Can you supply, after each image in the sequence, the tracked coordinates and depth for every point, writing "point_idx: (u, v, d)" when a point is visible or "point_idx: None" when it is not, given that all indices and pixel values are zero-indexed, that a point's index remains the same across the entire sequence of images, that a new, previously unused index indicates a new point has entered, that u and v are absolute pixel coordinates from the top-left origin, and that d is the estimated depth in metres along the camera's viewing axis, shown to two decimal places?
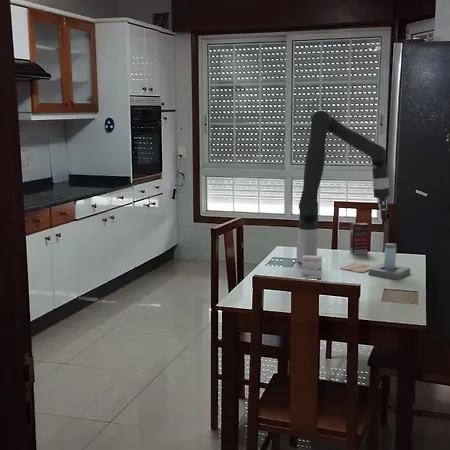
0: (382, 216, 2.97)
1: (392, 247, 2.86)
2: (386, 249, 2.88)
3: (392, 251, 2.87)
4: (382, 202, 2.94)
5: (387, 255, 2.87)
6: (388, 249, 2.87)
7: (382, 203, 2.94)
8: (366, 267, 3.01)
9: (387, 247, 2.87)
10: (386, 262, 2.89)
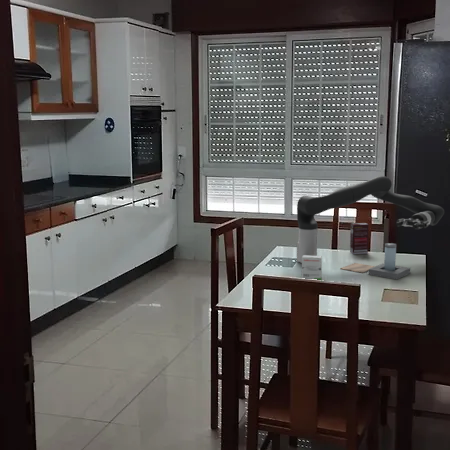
0: (417, 224, 2.97)
1: (392, 247, 2.86)
2: (386, 249, 2.88)
3: (392, 251, 2.87)
4: (428, 223, 3.01)
5: (387, 255, 2.87)
6: (388, 249, 2.87)
7: (428, 223, 3.00)
8: (366, 267, 3.01)
9: (387, 247, 2.87)
10: (386, 262, 2.89)
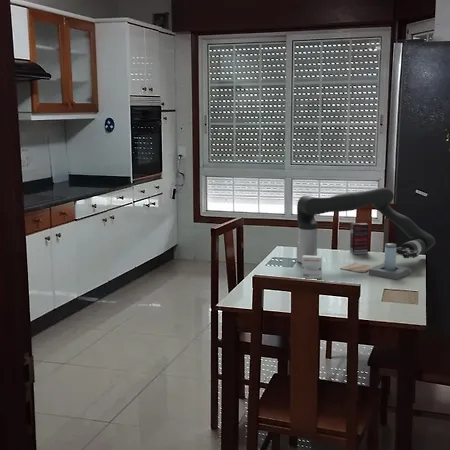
0: (407, 253, 2.93)
1: (392, 247, 2.86)
2: (386, 249, 2.88)
3: (392, 251, 2.87)
4: (418, 252, 2.97)
5: (387, 255, 2.87)
6: (388, 249, 2.87)
7: (418, 252, 2.96)
8: (366, 267, 3.01)
9: (387, 247, 2.87)
10: (386, 262, 2.89)
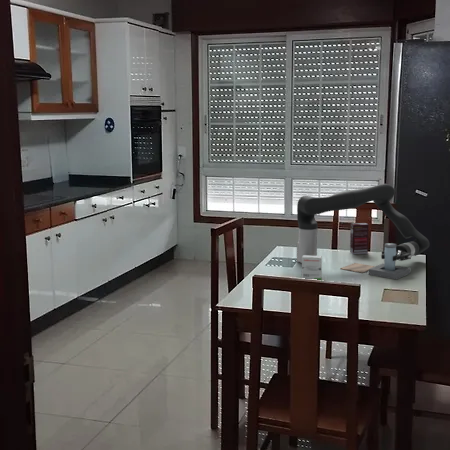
0: (397, 256, 2.88)
1: (392, 247, 2.86)
2: (386, 249, 2.88)
3: (392, 251, 2.86)
4: (410, 255, 2.91)
5: (387, 255, 2.87)
6: (388, 249, 2.87)
7: (410, 255, 2.90)
8: (366, 267, 3.01)
9: (387, 247, 2.87)
10: (386, 262, 2.89)
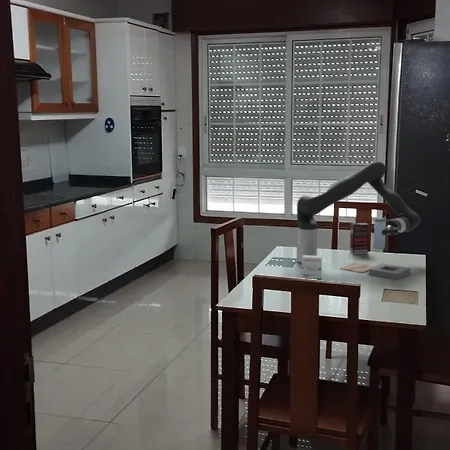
0: (386, 230, 2.88)
1: (382, 221, 2.87)
2: (376, 223, 2.88)
3: (382, 225, 2.87)
4: (400, 229, 2.91)
5: (377, 229, 2.88)
6: (378, 223, 2.87)
7: (399, 230, 2.91)
8: (366, 267, 3.01)
9: (377, 221, 2.88)
10: (375, 236, 2.89)
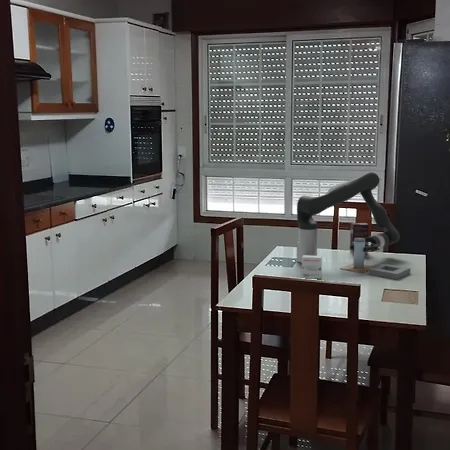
0: (367, 247, 2.97)
1: (361, 241, 2.97)
2: (355, 243, 2.98)
3: (361, 245, 2.97)
4: (379, 246, 3.01)
5: (356, 249, 2.98)
6: (357, 243, 2.97)
7: (379, 246, 3.00)
8: (366, 267, 3.01)
9: (356, 241, 2.98)
10: (355, 256, 2.99)
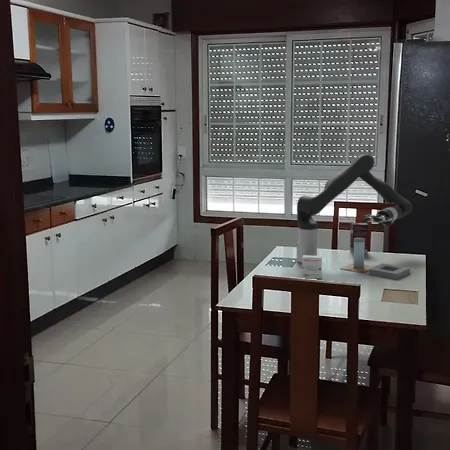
0: (382, 221, 3.04)
1: (360, 241, 2.97)
2: (355, 243, 2.98)
3: (360, 245, 2.97)
4: (393, 220, 3.08)
5: (356, 249, 2.98)
6: (357, 243, 2.97)
7: (393, 220, 3.08)
8: (366, 267, 3.01)
9: (356, 241, 2.98)
10: (355, 256, 2.99)
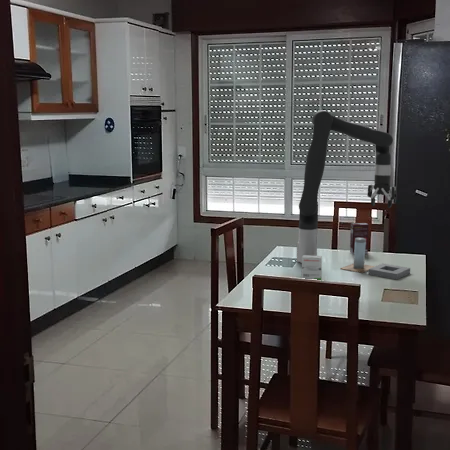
0: (389, 202, 3.03)
1: (361, 242, 2.96)
2: (356, 243, 2.98)
3: (361, 246, 2.96)
4: (394, 188, 3.01)
5: (357, 249, 2.97)
6: (358, 243, 2.97)
7: (394, 189, 3.01)
8: (366, 267, 3.01)
9: (357, 242, 2.97)
10: (355, 256, 2.99)
